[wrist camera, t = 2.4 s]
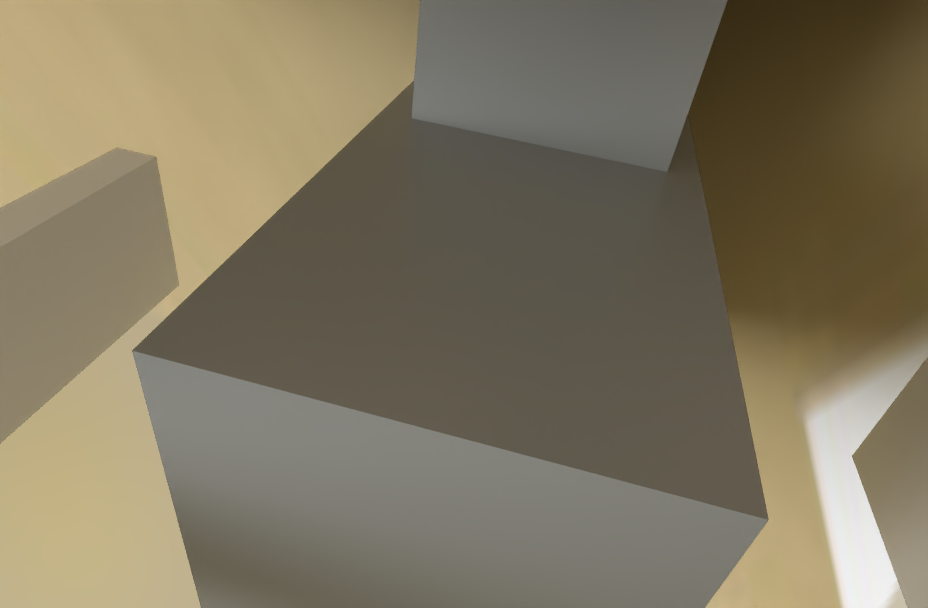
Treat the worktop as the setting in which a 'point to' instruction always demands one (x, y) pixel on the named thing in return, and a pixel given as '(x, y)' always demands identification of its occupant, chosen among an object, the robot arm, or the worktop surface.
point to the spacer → (476, 341)
